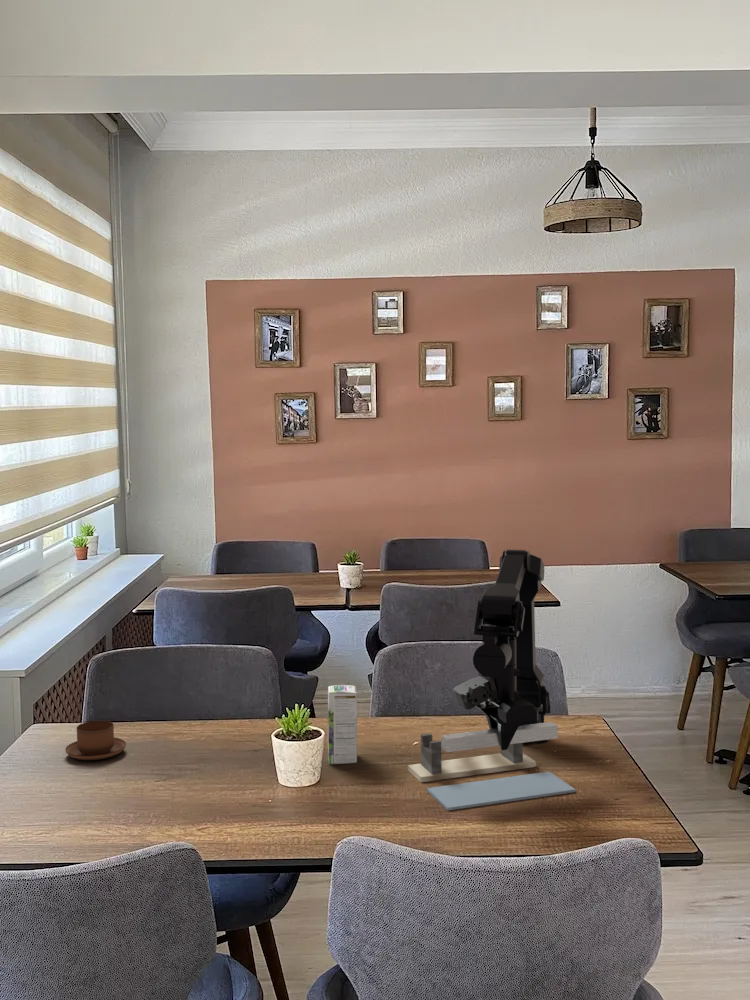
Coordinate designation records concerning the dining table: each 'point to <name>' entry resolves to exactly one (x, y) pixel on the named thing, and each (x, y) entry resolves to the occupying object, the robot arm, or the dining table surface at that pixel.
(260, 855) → the dining table surface
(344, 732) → the syrup box
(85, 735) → the cup and saucer
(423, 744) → the rail stand
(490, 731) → the rail
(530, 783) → the mat
